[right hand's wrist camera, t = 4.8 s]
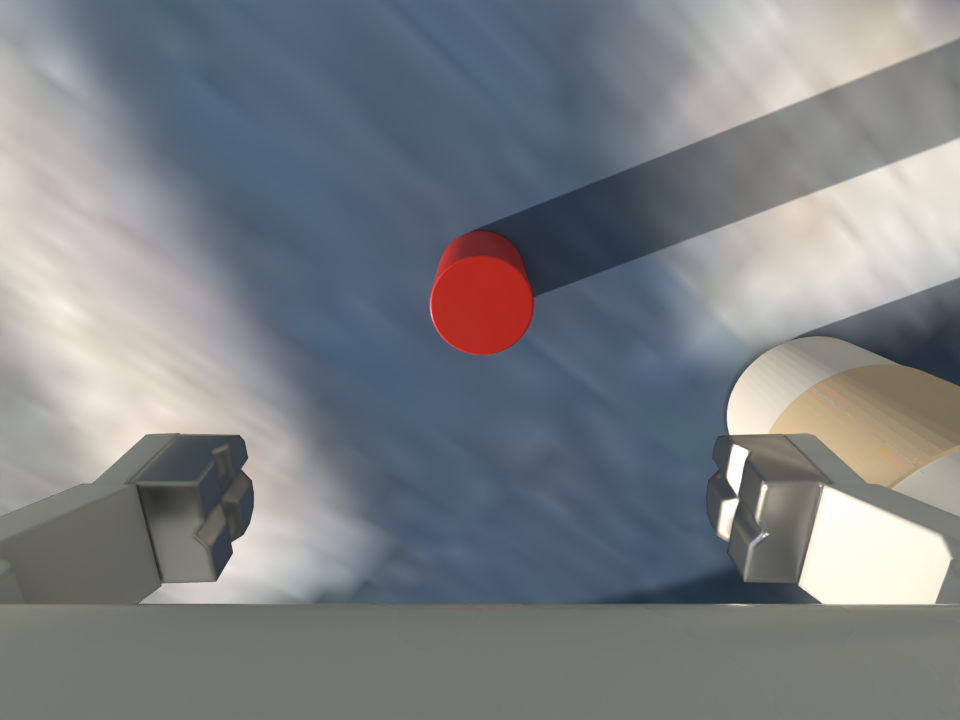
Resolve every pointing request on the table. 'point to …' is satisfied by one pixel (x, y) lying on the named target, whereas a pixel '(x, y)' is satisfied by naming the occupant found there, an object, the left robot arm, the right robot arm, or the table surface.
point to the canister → (481, 294)
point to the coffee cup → (858, 414)
